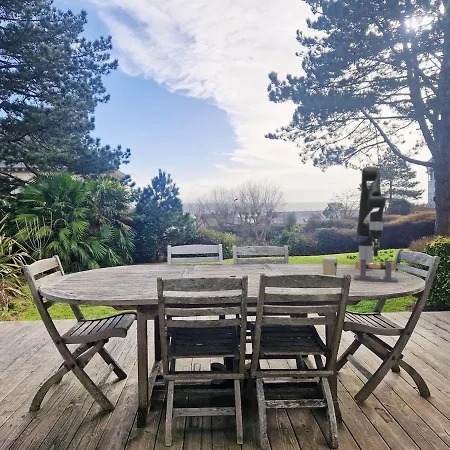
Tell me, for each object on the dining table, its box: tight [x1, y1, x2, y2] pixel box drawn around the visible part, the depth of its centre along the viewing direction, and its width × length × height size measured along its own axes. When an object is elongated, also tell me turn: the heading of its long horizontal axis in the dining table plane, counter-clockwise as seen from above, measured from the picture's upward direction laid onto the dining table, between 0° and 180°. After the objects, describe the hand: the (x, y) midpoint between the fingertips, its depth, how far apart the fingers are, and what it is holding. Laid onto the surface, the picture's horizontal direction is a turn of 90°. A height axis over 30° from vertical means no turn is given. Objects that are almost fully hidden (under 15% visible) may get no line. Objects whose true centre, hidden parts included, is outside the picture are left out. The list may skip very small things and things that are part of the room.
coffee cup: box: [321, 256, 338, 277], centre depth 242 cm, size 9×9×12 cm
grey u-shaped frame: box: [353, 260, 399, 284], centre depth 230 cm, size 10×24×12 cm, turn 70°
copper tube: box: [354, 261, 397, 271], centre depth 230 cm, size 23×4×4 cm, turn 70°
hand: (375, 255), depth 230 cm, fingers open, 8 cm apart
